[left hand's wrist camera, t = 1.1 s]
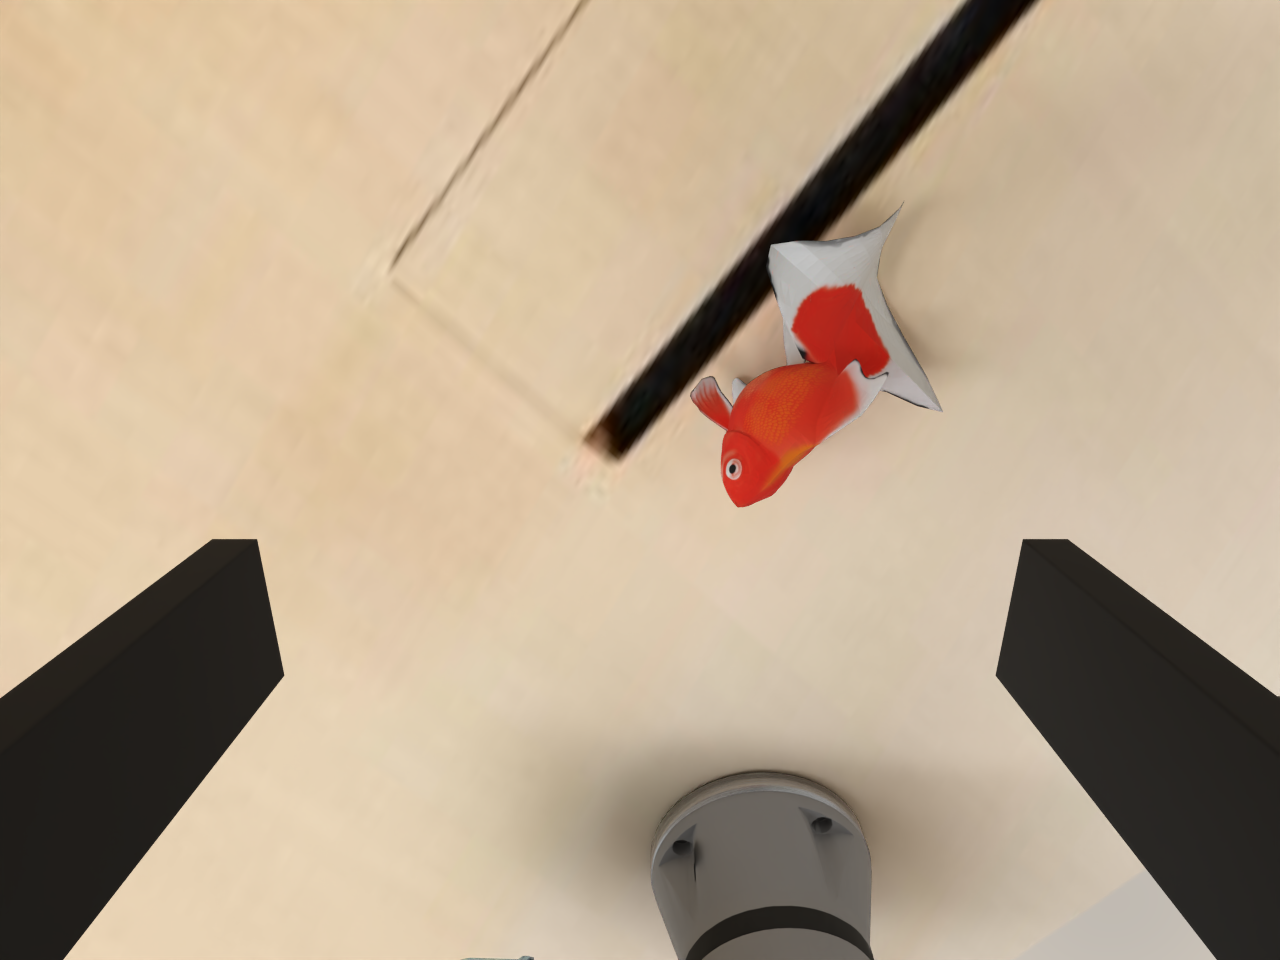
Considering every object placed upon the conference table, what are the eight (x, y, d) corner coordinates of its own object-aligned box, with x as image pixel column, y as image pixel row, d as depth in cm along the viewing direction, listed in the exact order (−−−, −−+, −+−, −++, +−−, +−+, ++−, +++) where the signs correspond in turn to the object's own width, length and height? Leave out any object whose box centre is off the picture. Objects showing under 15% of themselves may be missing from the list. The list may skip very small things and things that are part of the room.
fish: (589, 375, 34) (719, 419, 26) (789, 153, 37) (963, 131, 29) (703, 506, 40) (836, 574, 32) (867, 308, 43) (1029, 326, 35)
